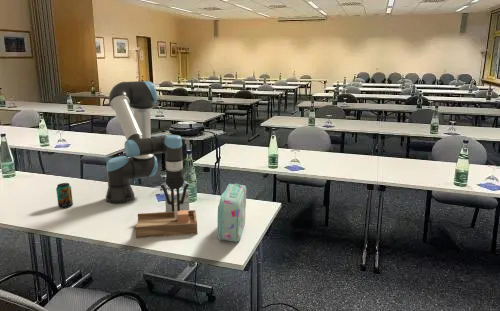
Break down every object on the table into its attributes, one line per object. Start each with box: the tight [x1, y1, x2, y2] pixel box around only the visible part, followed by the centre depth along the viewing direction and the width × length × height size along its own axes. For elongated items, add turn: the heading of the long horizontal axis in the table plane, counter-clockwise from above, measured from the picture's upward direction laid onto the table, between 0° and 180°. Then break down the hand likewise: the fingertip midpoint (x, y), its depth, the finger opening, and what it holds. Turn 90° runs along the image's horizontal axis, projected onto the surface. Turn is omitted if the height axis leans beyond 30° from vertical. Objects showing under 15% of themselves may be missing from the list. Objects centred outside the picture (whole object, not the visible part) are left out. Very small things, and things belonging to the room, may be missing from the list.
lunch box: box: [217, 183, 247, 243], centre depth 179 cm, size 27×10×21 cm, turn 174°
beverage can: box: [55, 182, 74, 209], centre depth 209 cm, size 7×7×12 cm
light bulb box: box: [164, 187, 190, 212], centre depth 204 cm, size 11×7×11 cm, turn 134°
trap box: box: [134, 209, 198, 239], centre depth 184 cm, size 16×27×5 cm, turn 101°
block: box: [177, 210, 189, 223], centre depth 187 cm, size 5×5×4 cm
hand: (176, 217), depth 187 cm, fingers closed
